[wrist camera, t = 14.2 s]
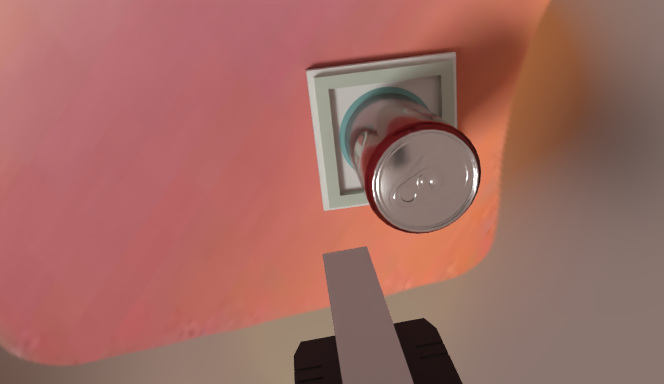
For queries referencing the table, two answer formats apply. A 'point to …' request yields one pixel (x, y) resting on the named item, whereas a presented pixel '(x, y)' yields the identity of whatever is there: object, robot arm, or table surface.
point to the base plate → (353, 89)
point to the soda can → (411, 163)
